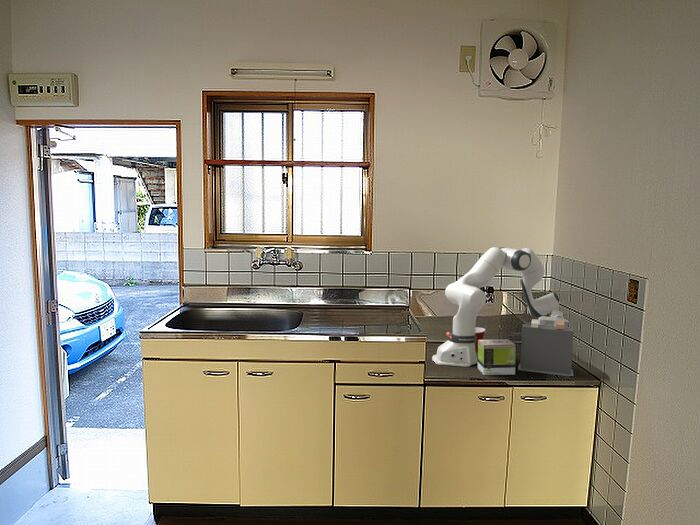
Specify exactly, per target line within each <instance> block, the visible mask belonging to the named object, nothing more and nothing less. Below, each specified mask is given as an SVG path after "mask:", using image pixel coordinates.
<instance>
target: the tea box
mask: <svg viewBox="0 0 700 525" xmlns="http://www.w3.org/2000/svg"><path fill="white" fill-rule="evenodd" d="M516 353H517V352H516V343H514V342H513V341H511V340H510V339H509V338H497V339H493V338H492V339H491V338H490V339H483V340H478V352H477V361H478V362H477V369H478V370H479V372H480V373H481V372H482V373H481V374H482V375H484V376H500V375H501V376H503V375H504V376H505V375H506V376H507V375H508V376H510V375H516V355H517V354H516Z"/></svg>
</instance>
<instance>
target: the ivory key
mask: <svg viewBox="0 0 700 525" xmlns="http://www.w3.org/2000/svg"><path fill="white" fill-rule="evenodd" d="M530 325H531V327H534V328H538V325H539V320H538V318H532V319H531V322H530Z"/></svg>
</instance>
